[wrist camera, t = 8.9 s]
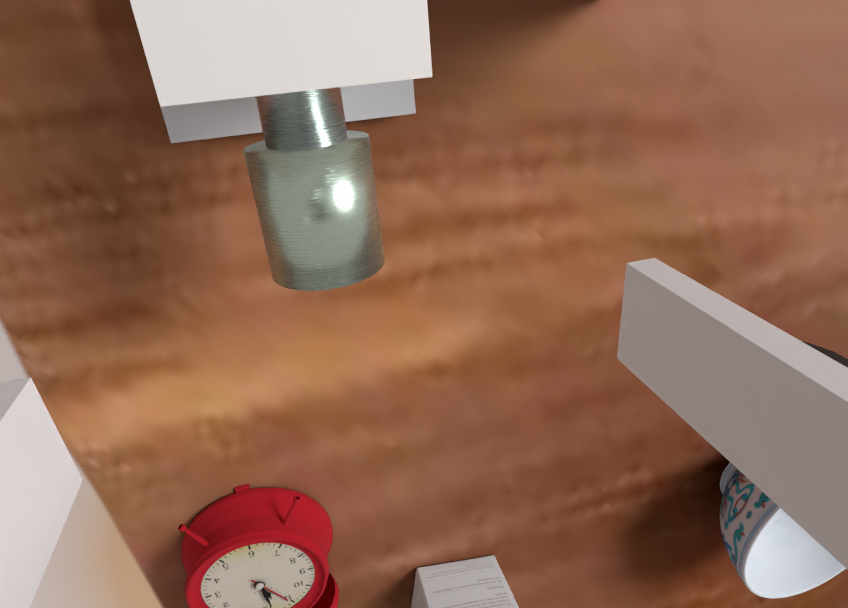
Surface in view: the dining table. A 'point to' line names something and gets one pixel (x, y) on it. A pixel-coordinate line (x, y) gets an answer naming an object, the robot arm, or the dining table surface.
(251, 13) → the housing
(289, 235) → the shaft
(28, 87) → the dining table surface
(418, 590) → the supplement box
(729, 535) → the chinaware
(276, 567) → the alarm clock
